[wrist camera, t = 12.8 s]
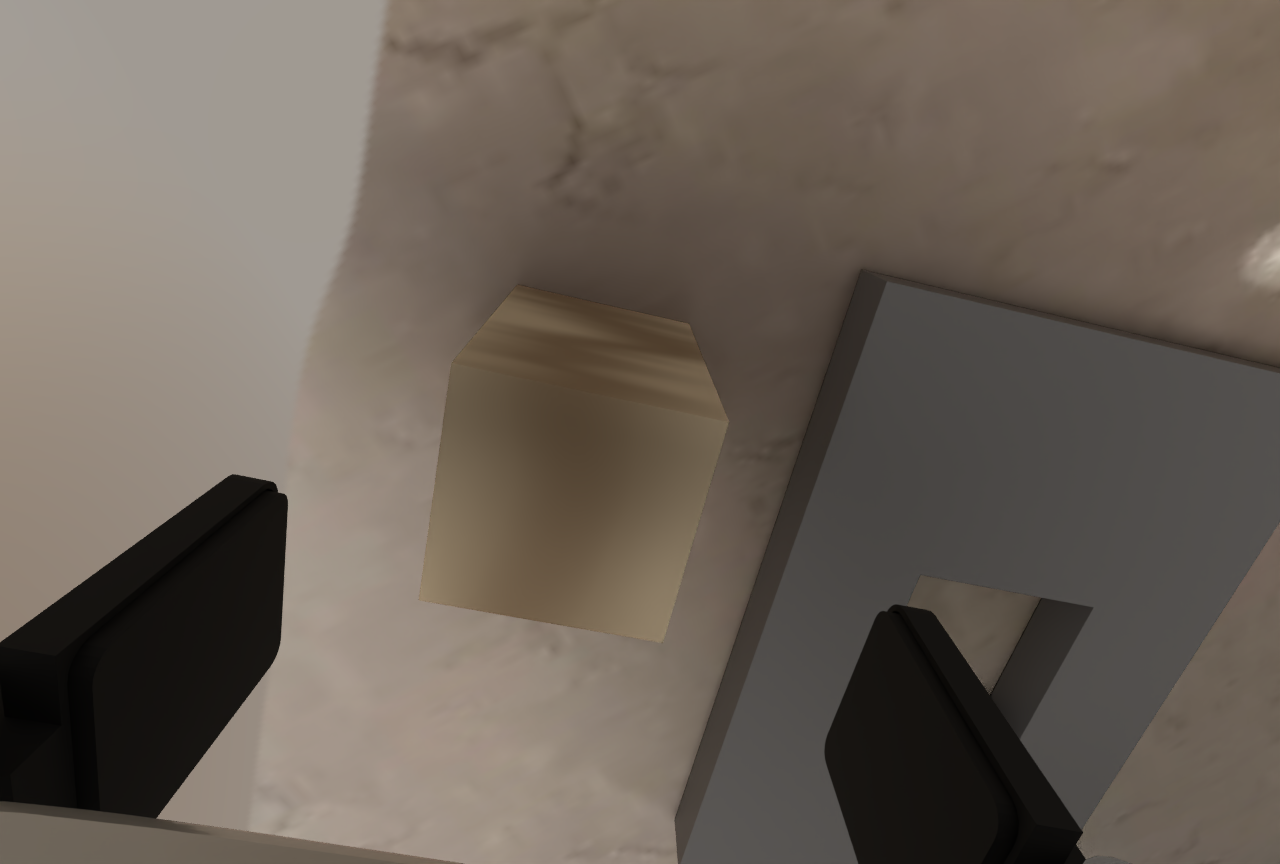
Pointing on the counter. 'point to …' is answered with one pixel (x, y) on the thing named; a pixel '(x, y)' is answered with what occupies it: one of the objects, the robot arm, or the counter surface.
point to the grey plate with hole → (988, 544)
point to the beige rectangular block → (572, 466)
